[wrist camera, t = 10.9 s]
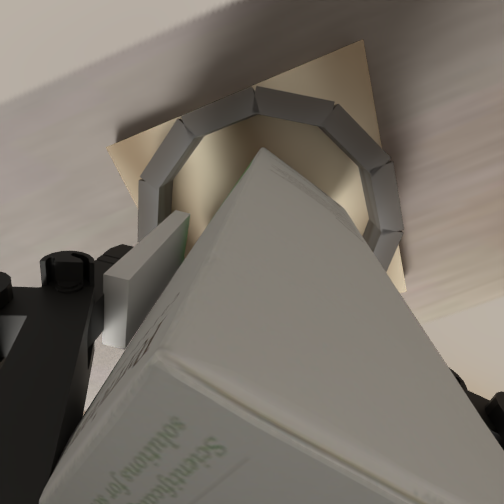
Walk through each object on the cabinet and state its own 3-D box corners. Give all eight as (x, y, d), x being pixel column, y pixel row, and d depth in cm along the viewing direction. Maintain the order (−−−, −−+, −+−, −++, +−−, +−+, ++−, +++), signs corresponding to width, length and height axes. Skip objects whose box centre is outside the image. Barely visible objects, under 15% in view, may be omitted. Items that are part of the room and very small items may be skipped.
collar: (208, 329, 25) (198, 361, 22) (115, 145, 19) (81, 151, 16) (400, 283, 22) (422, 312, 19) (357, 44, 16) (378, 24, 13)
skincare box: (263, 143, 16) (145, 300, 2) (352, 212, 17) (676, 621, 3) (189, 252, 19) (-58, 606, 5) (268, 303, 20) (242, 710, 6)
